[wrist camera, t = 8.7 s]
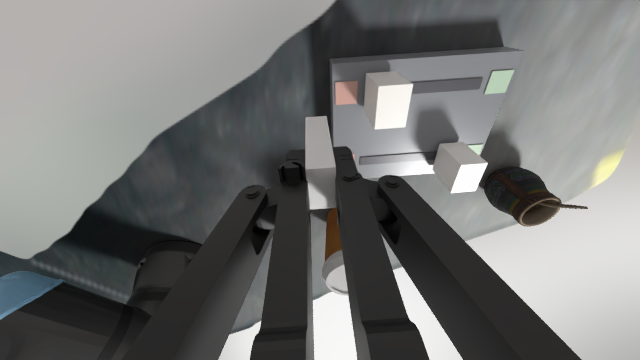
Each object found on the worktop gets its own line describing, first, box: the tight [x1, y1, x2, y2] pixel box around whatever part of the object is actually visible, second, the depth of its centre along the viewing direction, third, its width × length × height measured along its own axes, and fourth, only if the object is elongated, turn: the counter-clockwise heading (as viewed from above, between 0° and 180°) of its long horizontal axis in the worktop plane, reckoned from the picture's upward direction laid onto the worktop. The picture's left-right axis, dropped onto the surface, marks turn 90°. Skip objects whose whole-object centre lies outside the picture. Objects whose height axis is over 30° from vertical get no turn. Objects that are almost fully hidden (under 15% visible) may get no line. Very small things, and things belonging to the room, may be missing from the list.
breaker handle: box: [432, 142, 488, 193], centre depth 29 cm, size 3×4×5 cm
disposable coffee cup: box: [322, 206, 348, 295], centre depth 37 cm, size 10×10×12 cm
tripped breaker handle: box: [364, 71, 413, 130], centre depth 23 cm, size 3×4×5 cm
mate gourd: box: [484, 167, 588, 226], centre depth 34 cm, size 7×8×10 cm
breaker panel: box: [329, 47, 524, 179], centre depth 29 cm, size 20×15×3 cm
